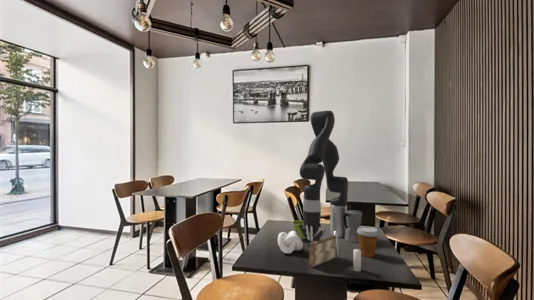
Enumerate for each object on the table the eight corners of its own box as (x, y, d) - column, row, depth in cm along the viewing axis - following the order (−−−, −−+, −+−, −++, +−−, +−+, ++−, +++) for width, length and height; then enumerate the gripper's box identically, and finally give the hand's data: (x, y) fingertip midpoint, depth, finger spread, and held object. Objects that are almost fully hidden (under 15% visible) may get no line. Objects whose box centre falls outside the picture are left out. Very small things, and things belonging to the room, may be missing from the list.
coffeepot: (352, 235, 165) (353, 203, 164) (367, 239, 157) (368, 206, 157) (335, 241, 155) (336, 207, 155) (351, 245, 148) (351, 210, 147)
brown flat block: (332, 255, 132) (332, 234, 132) (335, 256, 131) (335, 235, 131) (309, 265, 122) (309, 242, 122) (312, 266, 121) (312, 243, 121)
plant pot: (310, 241, 155) (310, 225, 154) (292, 241, 155) (292, 224, 155) (308, 235, 164) (308, 220, 164) (291, 235, 164) (291, 220, 164)
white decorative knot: (286, 257, 132) (286, 238, 132) (271, 249, 142) (271, 231, 142) (305, 252, 138) (305, 234, 138) (289, 245, 148) (290, 228, 148)
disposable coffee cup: (364, 259, 130) (364, 232, 130) (352, 251, 139) (353, 227, 139) (382, 257, 133) (383, 231, 132) (370, 250, 142) (370, 225, 142)
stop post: (351, 268, 121) (352, 249, 120) (358, 267, 121) (358, 248, 121) (355, 271, 118) (355, 252, 118) (362, 271, 118) (362, 251, 118)
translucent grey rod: (333, 256, 133) (333, 230, 133) (336, 256, 134) (336, 230, 133) (334, 258, 132) (335, 231, 131) (338, 257, 132) (338, 231, 132)
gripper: (294, 208, 128) (294, 246, 129) (319, 213, 119) (319, 255, 120) (305, 205, 134) (304, 242, 134) (329, 210, 124) (329, 250, 125)
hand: (311, 248), depth 127 cm, fingers closed
